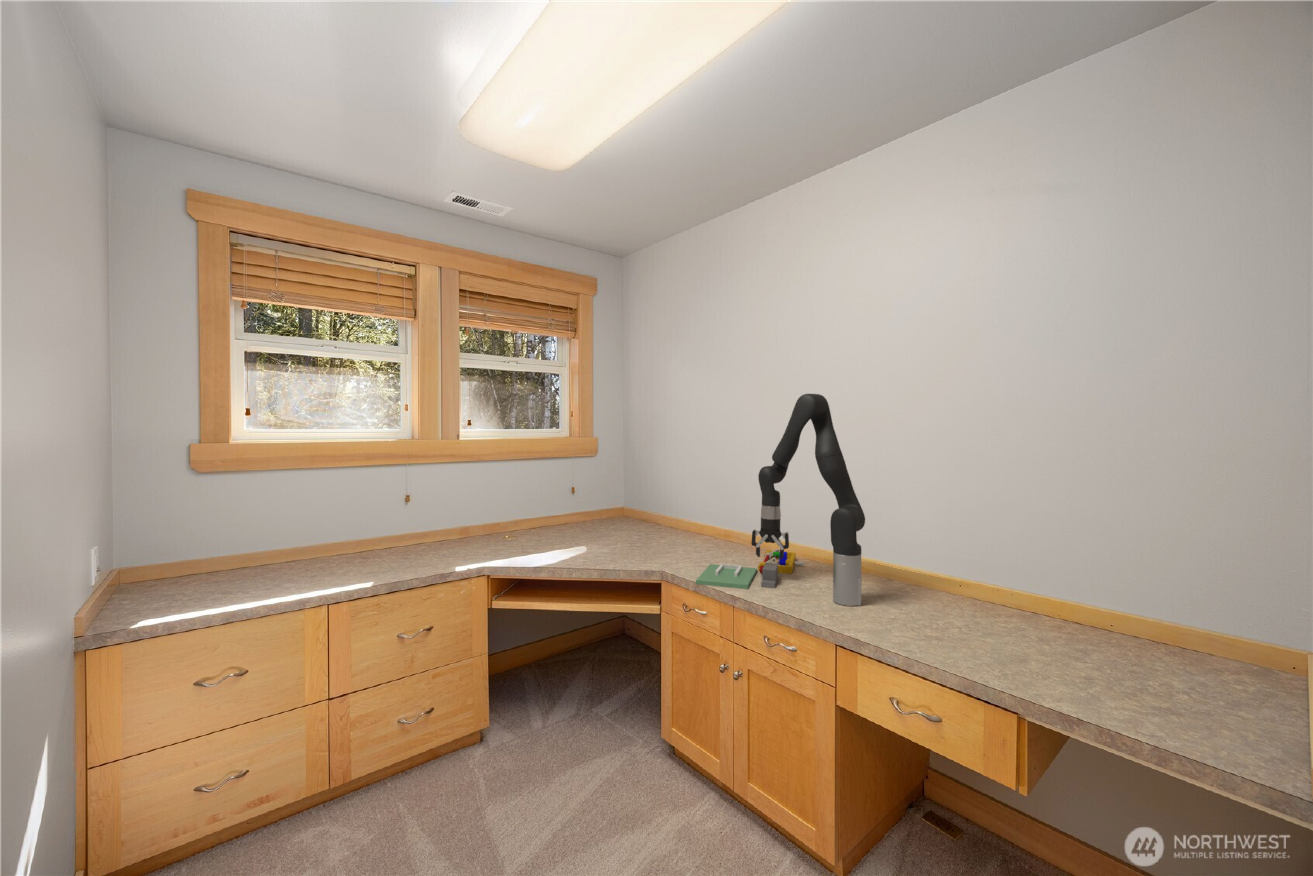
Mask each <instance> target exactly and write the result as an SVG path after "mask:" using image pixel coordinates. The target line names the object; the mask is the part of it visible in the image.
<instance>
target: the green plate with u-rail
mask: <svg viewBox="0 0 1313 876" xmlns="http://www.w3.org/2000/svg"><path fill="white" fill-rule="evenodd" d="M757 573H758V567H748V566H747V567H746V566H743V565H740V564H729V563H720V564H713V563H710V564H709V565H708V566H707V567H706V568H705V569H704V570H703V572H702V573H701V574H700V575H699V576H698V577H697V578H696V579H695V584H696V585H704V586H713V587H714V586H715V587H723V588H732V589H741V590H742V589H744V590H748V589H749V587H750V586H751V584H752V582H753V580H754V579H755V576H756V575H757Z"/></svg>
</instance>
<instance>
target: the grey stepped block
mask: <svg viewBox="0 0 1313 876" xmlns="http://www.w3.org/2000/svg"><path fill="white" fill-rule="evenodd" d="M778 565H779V563H765V565H764V567H763V569H762V573H761V575H762V578H761V581H760V582H761V583H760V587H761V588H767V589H776V586H777V583H778V581H779V573H778Z"/></svg>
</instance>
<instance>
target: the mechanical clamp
mask: <svg viewBox="0 0 1313 876" xmlns="http://www.w3.org/2000/svg"><path fill="white" fill-rule="evenodd" d="M763 557H764V560H763V561H761V562H759V564H758V566H757V571H759V573H760V574H762V569H763V567H764V565H765V563H773V564H775V563H776V561H777V559H778V560H779V561H778V574H788V575H790V574H791V575H792V574H793V571H794V567H795V566H805V563H806V562H805V561H796V552H789V551H784V557H783V558H782V559H780V548H776V549H774V550H771V549H768V550H766V551H764V554H763Z"/></svg>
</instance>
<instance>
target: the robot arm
mask: <svg viewBox="0 0 1313 876" xmlns="http://www.w3.org/2000/svg"><path fill="white" fill-rule="evenodd" d="M810 421H811V423H812V426H813V429H814V432H815V445H814V446H815V447H814V455H815V461H816V464H817V467H818V471H819V473H820V475H821V477H822V479H823V480H824V482H825V483H826V484H827V486H828V487H829V488H830V489H831V492H832V493H833V495H834V496H835V499H836V503H837V506H838V508H836V509H835V510H833V512H832V513H831V516H830V523H829V524H830V525H829V527H830V542H831V545H832V548H833V549H832V550H833V551H832V552H833V553H832V561H833V562H832V602H834V604H838V605H840V606H841V605H842V606H847V607H856V606H862V546H861V545H860V544H859V543H858V541H857V538H858V536H857V532H859V531H861V530H862V529H863V528H864V527H865V524H866V516H865V513H864V510H863V508H862V506H861V503H860V501H859V499H858V496H857V493H856V492H855V489H854V487H853V482H852V480H851V477H850V473H849V471H848V468H847V464H846V461H845V459H844V454H843V451H842V450H841V447H840V444H839V440H838V437H837V434H836V431H835V427H834V424H833V419H832V414H831V409H830V405H829V402H828V400H827V398H826V397H825V396H824V395H822V394H819V393H804V394H801V395H800V396H799V397H798V398H797V400H796V402H795V404H794V407H793V410H792V413H791V415H790V418H789V421H788V423H787V426H786V428H785V430H784V433H783V435H782V437H781V439H780V441H779V442H778V444H777V446H776V447H775V449H774V451H773V453H772V455H771V459H772V462H773V464H772V465H766V466H763V467H761V468H760V469H759V472H758V474H757V475H758V476H757V477H758V484H759V488H760V492H761V508H760V529H759V530H756V529H753V530H752V532H751V546H753V547H755V555H756V556H757V557H758V558H760V557H761V545H762V544H763V543H764V542H765V543H771V544H776V545H777V546H778V548H779V550H780V551H779V552H780V559H782V558H783V557H784V552H785V550H788V549H789V547H790V540H789V537H790V536H789V531H788V532H781V517H782V514H781V513H782V512H781V492H780V491H778V490H776V488H775V485H774V484H778V483H781V482H782V481H783V480H784V479H785V477H786V476H787V472H788V469H789V464H790V462H791V461H792V459H793V457H794V456H795V454H796V452H797V450H798V448H799V443H800V438H801V434H802V432H803V429H804V428H805V426H806V425H807V423H808V422H810ZM759 535H760V537H761V538H760V540H759V541H758V542H756V539H757V536H759ZM781 536H782V538H783V539H784V543H782V541H781V540H780V537H781Z"/></svg>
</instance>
